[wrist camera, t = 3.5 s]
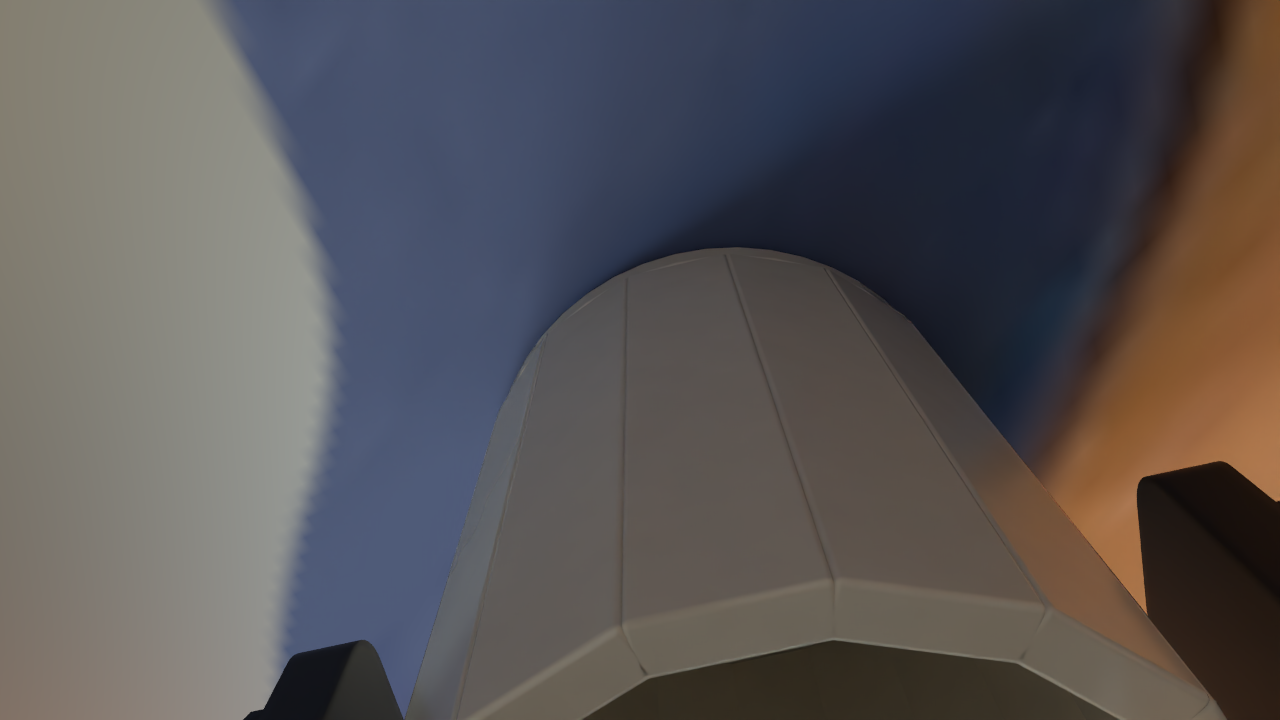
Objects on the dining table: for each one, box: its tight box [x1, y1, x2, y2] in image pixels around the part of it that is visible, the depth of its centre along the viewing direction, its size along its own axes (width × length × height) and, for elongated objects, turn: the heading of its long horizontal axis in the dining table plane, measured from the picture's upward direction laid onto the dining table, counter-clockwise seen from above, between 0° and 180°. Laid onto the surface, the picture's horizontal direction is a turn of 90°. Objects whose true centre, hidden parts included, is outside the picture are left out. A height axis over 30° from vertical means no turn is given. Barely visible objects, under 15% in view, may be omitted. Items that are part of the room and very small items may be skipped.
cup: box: [405, 247, 1228, 720], centre depth 10 cm, size 6×6×8 cm
